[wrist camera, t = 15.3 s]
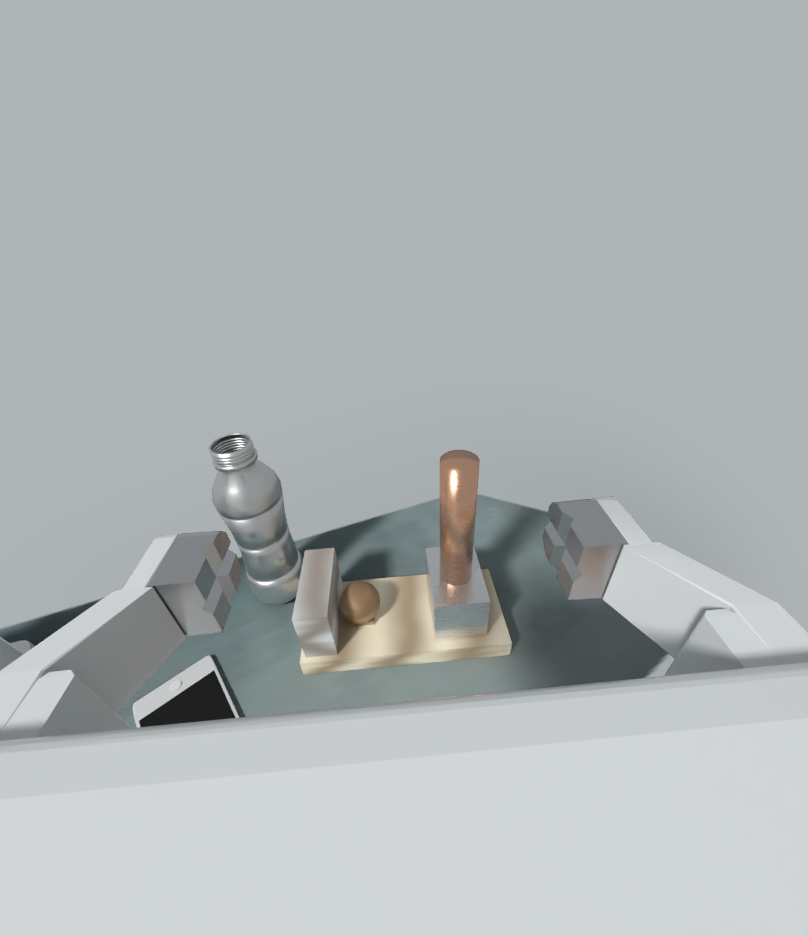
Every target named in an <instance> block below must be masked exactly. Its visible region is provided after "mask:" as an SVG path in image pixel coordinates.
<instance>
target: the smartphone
mask: <svg viewBox="0 0 808 936" xmlns="http://www.w3.org/2000/svg"><path fill="white" fill-rule="evenodd" d="M133 713H134V717H135V722H136V726H137V728H138V727H149V726H159V725H169V724H179V723H190V722H200V721H210V720H220V719H231V718H240V717H239V715H238V712H237V710H236V708H235V706H234V704H233V702H232V699H231V697H230V695H229V693H228V691H227V689H226V686H225V684H224V682H223V680H222V678H221V676H220V673H219V671H218V669H217V667H216V665H215V663H214V661H213V659H212V657H211V656H206V657H204V658H203V659H201V660H200V661H198V662H197V663H195V664H194V665H192V666H191V667H189V668H187V669H186V670H184V671H183V672H181V673H180V674H178V675H177V676H175V677H174V678H172V679H171V680H169V681H167V682H166V683H164V684H163V685H161V686H160V687H158V688H157V689H155V690H154V691H152V692H151V693H149V694H147V695H146V696H144V697H143V698H141V699H140V700H138V701H137V702H135V703H134V705H133Z"/></svg>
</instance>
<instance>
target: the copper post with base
mask: <svg viewBox="0 0 808 936" xmlns="http://www.w3.org/2000/svg"><path fill="white" fill-rule="evenodd" d="M478 475H479V458H478V457H477V456H476V455H475V454H474V453H472V452H469V451H465V450H453V451H449V452H447V453H445V454H443V455H442V456H441V458H440V547H433V548H425V552H426V581H427V588H428V595H429V602H430V609H431V616H432V623H433V630H434V637H435V639H439V638H449V637H460V636H471V635H481V634H487V626H488V618H489V610H490V598H489V595H488V591H487V588H486V585H485V581H484V578H483V574H482V571H481V568H480V564H479V561H478V558H477V554H476V551H475V547H474V531H475V517H476V503H477V489H478Z"/></svg>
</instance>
